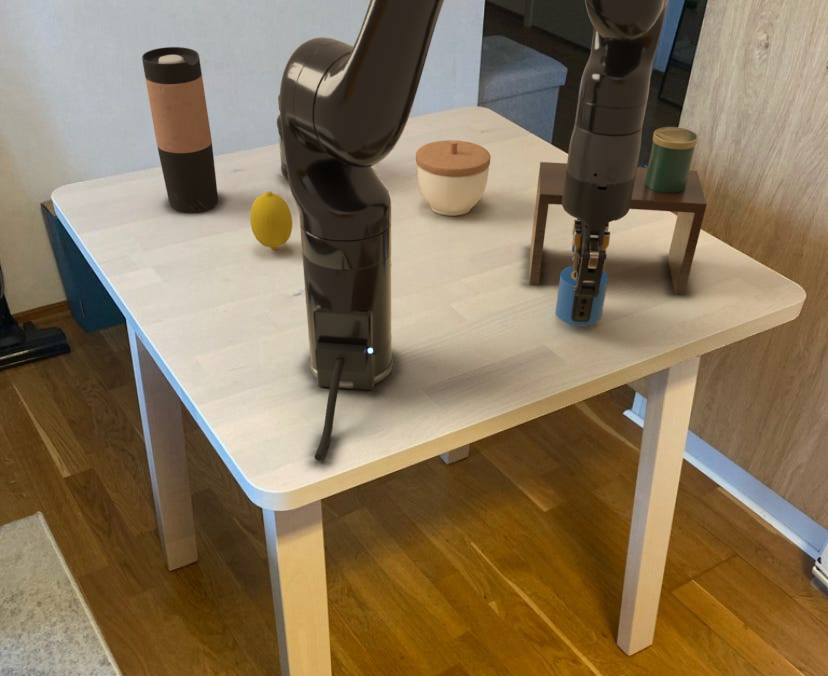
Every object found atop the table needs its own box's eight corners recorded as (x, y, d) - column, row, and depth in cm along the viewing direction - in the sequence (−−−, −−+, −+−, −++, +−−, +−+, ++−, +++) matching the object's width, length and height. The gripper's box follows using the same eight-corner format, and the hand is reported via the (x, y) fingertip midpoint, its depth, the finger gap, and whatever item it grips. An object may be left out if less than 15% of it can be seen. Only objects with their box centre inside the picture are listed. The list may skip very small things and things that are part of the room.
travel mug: (163, 196, 134) (136, 49, 120) (213, 189, 136) (193, 44, 122) (173, 217, 129) (146, 66, 115) (225, 209, 131) (205, 60, 117)
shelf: (684, 294, 115) (707, 203, 107) (529, 284, 116) (539, 193, 108) (676, 258, 122) (697, 170, 114) (530, 249, 124) (540, 161, 115)
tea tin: (688, 194, 109) (700, 144, 104) (645, 192, 109) (655, 141, 105) (684, 177, 112) (695, 127, 108) (642, 175, 113) (652, 125, 108)
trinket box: (490, 195, 136) (495, 131, 129) (482, 226, 129) (486, 160, 122) (421, 189, 137) (422, 125, 131) (408, 219, 130) (409, 153, 123)
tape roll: (602, 327, 107) (609, 288, 103) (555, 324, 107) (561, 285, 104) (600, 303, 111) (607, 265, 107) (555, 300, 111) (560, 262, 108)
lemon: (287, 261, 120) (282, 203, 114) (248, 256, 121) (241, 198, 115) (299, 242, 124) (295, 185, 118) (261, 238, 125) (255, 181, 119)
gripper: (565, 140, 102) (547, 276, 114) (568, 192, 92) (548, 336, 103) (631, 143, 101) (607, 280, 113) (642, 197, 91) (613, 340, 103)
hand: (579, 306), depth 108 cm, fingers closed on tape roll, 5 cm apart
